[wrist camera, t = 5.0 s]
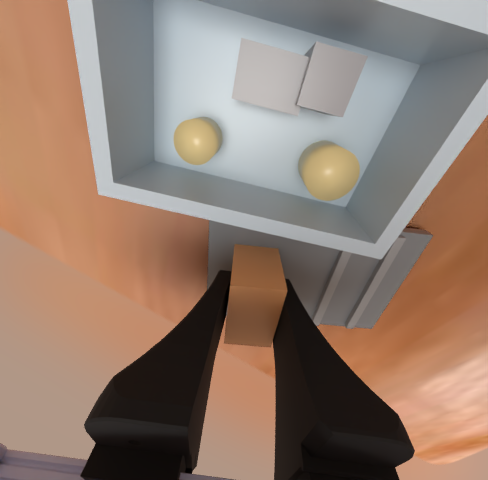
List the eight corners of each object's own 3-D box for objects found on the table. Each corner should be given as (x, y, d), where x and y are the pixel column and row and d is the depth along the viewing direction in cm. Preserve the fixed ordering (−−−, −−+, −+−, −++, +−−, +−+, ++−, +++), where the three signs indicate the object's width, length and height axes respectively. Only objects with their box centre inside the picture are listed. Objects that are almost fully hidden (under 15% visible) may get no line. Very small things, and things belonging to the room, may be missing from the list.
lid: (425, 230, 12) (494, 276, 8) (367, 321, 15) (399, 377, 12) (211, 205, 11) (196, 244, 8) (207, 306, 15) (196, 360, 12)
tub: (436, 51, 8) (561, 13, 5) (347, 215, 12) (381, 259, 8) (142, -35, 7) (43, -152, 4) (147, 167, 11) (98, 194, 8)
